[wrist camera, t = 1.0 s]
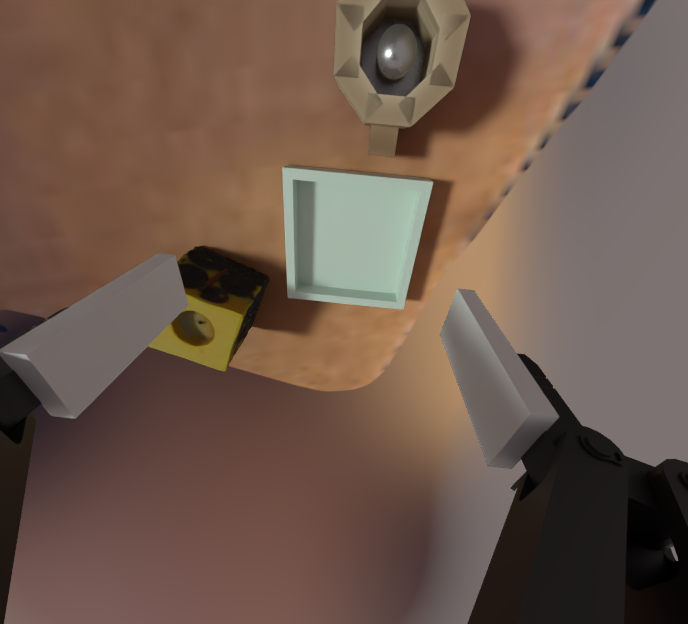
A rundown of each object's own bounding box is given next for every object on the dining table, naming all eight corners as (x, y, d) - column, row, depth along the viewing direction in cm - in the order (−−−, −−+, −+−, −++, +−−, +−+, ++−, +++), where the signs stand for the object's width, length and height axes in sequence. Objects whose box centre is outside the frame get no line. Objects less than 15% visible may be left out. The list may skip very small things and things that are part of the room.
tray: (289, 164, 29) (282, 167, 27) (427, 178, 29) (433, 181, 27) (292, 287, 37) (287, 297, 35) (400, 298, 37) (403, 309, 35)
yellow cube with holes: (186, 301, 40) (139, 345, 32) (196, 242, 35) (143, 275, 27) (252, 328, 42) (224, 375, 34) (271, 275, 37) (243, 316, 28)
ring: (344, -19, 20) (339, -59, 16) (460, -9, 20) (485, -46, 16) (335, 150, 27) (330, 153, 22) (424, 159, 26) (436, 163, 22)
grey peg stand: (361, 18, 23) (360, -15, 18) (431, 25, 23) (450, -7, 18) (354, 107, 26) (351, 99, 21) (415, 112, 26) (428, 107, 21)
